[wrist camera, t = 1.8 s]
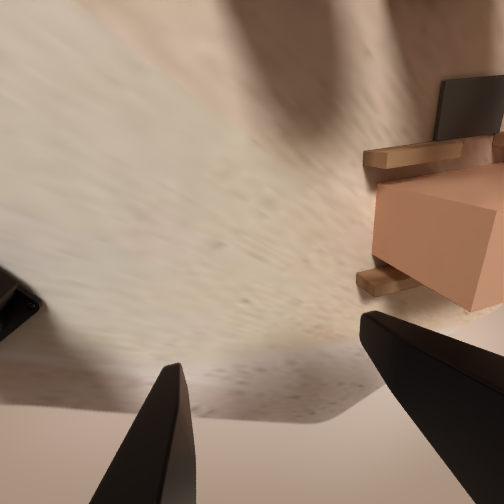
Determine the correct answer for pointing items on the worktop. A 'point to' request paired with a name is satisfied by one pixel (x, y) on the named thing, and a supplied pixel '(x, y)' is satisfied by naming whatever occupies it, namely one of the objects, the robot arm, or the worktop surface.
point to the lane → (440, 151)
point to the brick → (446, 232)
